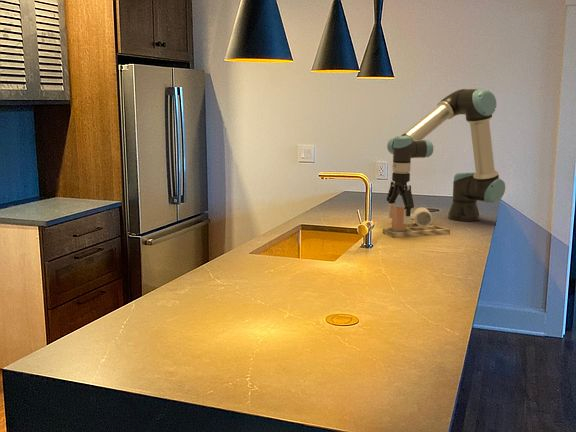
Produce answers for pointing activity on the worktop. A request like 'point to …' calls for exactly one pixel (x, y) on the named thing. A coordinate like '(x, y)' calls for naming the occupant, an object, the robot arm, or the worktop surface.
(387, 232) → the compartment tray
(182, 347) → the worktop surface
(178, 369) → the worktop surface
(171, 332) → the worktop surface
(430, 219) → the mug
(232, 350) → the worktop surface
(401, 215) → the peg block
